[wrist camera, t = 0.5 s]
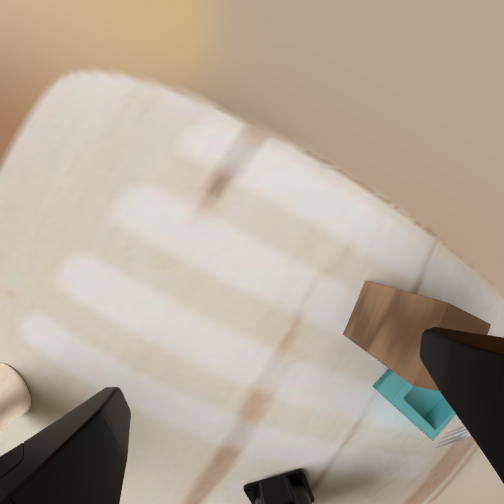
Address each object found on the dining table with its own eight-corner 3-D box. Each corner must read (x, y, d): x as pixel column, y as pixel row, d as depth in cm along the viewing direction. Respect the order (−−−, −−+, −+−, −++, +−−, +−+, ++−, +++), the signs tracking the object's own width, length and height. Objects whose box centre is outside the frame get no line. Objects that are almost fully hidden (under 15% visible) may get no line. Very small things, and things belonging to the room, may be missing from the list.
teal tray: (416, 426, 26) (432, 440, 23) (372, 386, 26) (389, 401, 22) (471, 359, 27) (490, 368, 23) (437, 308, 26) (459, 315, 22)
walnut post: (385, 348, 26) (460, 395, 15) (343, 333, 25) (412, 385, 14) (406, 298, 26) (490, 324, 15) (365, 280, 25) (448, 303, 14)
